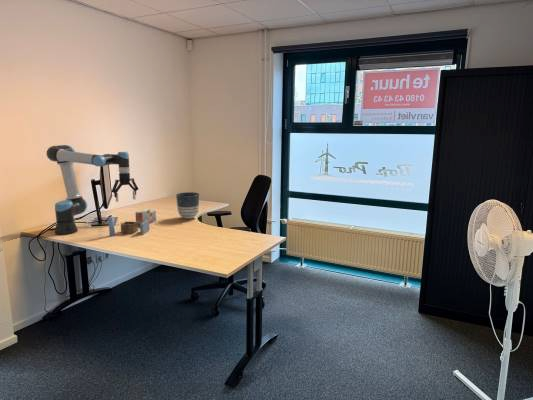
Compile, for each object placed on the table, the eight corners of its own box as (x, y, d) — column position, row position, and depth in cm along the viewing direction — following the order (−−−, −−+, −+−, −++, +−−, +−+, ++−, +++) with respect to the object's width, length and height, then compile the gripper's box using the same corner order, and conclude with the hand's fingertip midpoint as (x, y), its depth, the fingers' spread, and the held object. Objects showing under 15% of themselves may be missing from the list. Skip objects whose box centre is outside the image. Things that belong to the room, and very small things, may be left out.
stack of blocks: (149, 220, 318) (148, 206, 316) (156, 221, 317) (155, 206, 314) (136, 227, 297) (135, 212, 295) (143, 227, 296) (142, 212, 294)
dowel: (108, 236, 271) (107, 217, 269) (111, 234, 275) (109, 216, 272) (113, 236, 271) (112, 217, 268) (115, 235, 275) (114, 216, 272)
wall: (140, 234, 276) (140, 224, 274) (146, 230, 288) (146, 220, 286) (143, 234, 276) (142, 224, 274) (149, 230, 288) (148, 220, 286)
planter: (173, 217, 328) (172, 193, 324) (193, 214, 340) (192, 191, 336) (183, 222, 313) (182, 197, 309) (203, 218, 325) (203, 194, 320)
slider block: (121, 233, 279) (120, 224, 277) (126, 230, 287) (126, 221, 286) (133, 233, 278) (132, 224, 277) (138, 230, 287) (137, 221, 285)
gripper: (110, 174, 268) (111, 203, 272) (142, 171, 286) (143, 199, 290) (105, 173, 273) (107, 201, 277) (137, 170, 291) (138, 197, 295)
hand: (125, 200), depth 284 cm, fingers open, 13 cm apart
